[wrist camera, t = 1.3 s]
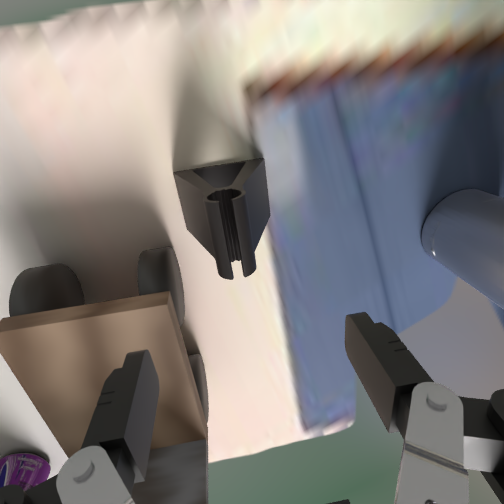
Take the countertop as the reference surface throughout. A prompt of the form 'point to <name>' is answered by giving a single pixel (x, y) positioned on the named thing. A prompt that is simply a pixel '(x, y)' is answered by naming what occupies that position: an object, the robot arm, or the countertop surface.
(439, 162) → the countertop surface
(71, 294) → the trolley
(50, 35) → the countertop surface
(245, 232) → the phone stand
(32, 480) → the beverage can
